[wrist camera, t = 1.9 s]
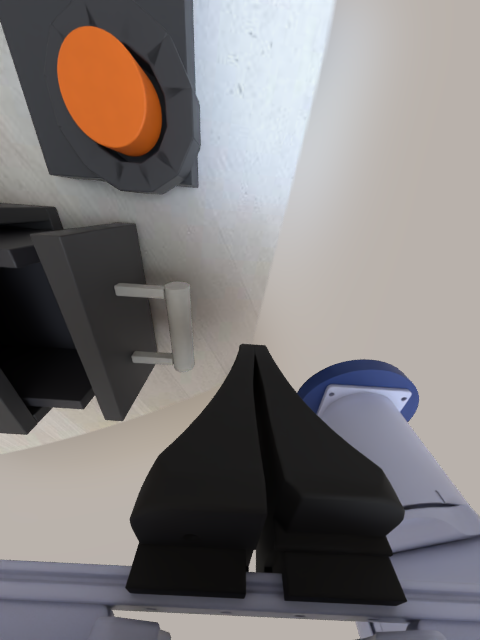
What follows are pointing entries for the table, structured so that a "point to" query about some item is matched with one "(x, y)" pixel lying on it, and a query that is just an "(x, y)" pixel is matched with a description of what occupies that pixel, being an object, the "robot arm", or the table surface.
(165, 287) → the drawer
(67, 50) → the button
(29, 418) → the box
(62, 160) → the control block
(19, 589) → the robot arm
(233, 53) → the table surface
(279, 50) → the table surface
